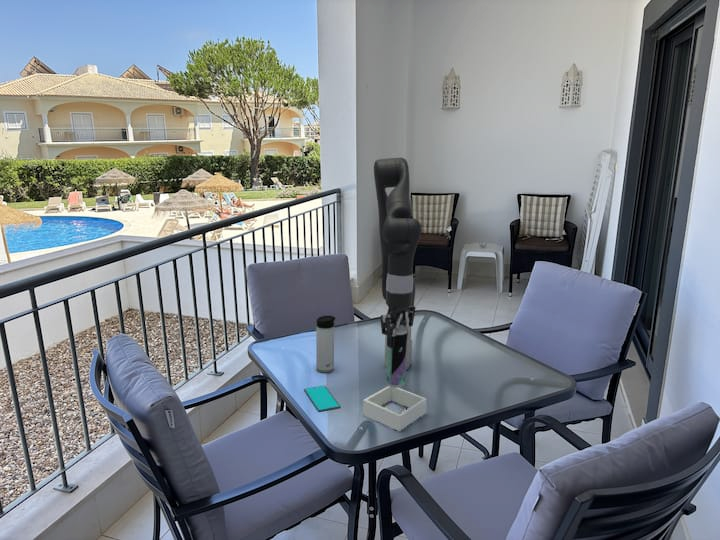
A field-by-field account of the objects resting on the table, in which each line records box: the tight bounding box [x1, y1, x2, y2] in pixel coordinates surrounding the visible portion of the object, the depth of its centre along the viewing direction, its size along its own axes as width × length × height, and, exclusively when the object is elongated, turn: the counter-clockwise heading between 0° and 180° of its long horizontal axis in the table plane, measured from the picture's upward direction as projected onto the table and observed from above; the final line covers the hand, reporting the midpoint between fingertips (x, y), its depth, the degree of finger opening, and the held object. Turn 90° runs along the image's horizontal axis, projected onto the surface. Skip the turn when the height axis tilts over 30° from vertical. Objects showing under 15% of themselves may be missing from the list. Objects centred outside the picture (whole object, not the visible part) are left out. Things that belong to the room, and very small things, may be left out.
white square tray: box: [362, 385, 428, 430], centre depth 152 cm, size 14×14×5 cm
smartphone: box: [303, 385, 341, 413], centre depth 161 cm, size 7×1×15 cm
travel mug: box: [315, 315, 336, 374], centre depth 179 cm, size 6×7×20 cm
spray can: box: [385, 323, 407, 388], centre depth 147 cm, size 6×6×20 cm
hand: (397, 344), depth 147 cm, fingers closed on spray can, 5 cm apart
